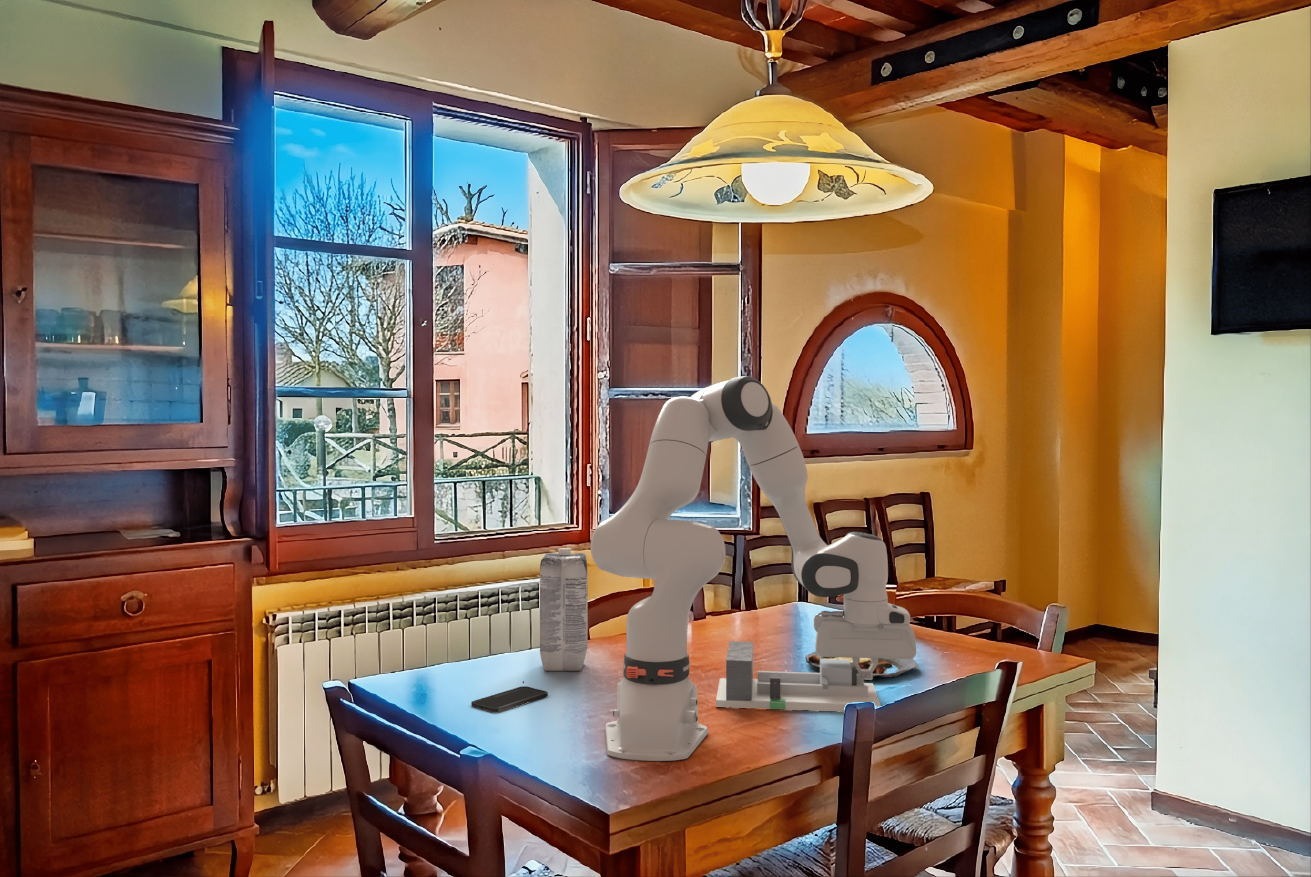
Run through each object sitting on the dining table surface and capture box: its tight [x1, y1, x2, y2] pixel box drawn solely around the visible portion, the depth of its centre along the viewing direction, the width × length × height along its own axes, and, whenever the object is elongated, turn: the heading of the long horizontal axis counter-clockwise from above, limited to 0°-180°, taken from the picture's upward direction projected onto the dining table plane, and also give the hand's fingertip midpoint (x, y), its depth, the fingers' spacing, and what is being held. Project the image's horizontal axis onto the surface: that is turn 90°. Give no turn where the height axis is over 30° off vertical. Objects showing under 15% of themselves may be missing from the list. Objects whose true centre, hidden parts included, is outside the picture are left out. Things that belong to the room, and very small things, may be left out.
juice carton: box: [539, 547, 588, 672], centre depth 227 cm, size 9×10×27 cm
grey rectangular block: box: [725, 640, 754, 701], centre depth 204 cm, size 16×5×8 cm, turn 173°
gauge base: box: [715, 670, 882, 713], centre depth 203 cm, size 16×32×4 cm, turn 83°
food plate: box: [805, 651, 919, 678], centre depth 227 cm, size 25×23×4 cm
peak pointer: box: [770, 674, 780, 700], centre depth 198 cm, size 5×2×4 cm, turn 173°
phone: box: [470, 685, 549, 713], centre depth 201 cm, size 8×1×15 cm
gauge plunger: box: [819, 659, 857, 689], centre depth 202 cm, size 12×7×5 cm, turn 173°
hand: (864, 678), depth 204 cm, fingers closed
